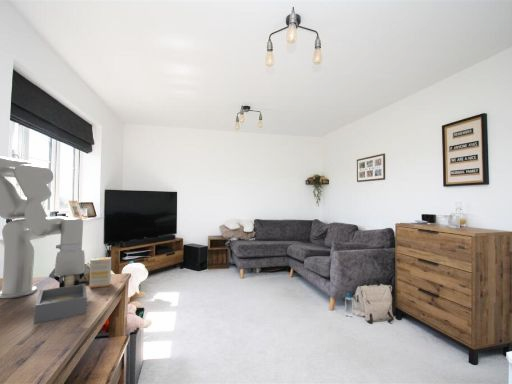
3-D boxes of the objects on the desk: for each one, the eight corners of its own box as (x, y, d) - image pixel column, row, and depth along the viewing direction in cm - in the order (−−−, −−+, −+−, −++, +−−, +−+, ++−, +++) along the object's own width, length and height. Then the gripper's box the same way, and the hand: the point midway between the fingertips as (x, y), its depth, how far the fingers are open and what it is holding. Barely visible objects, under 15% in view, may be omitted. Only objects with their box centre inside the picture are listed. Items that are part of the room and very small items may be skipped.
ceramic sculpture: (99, 259, 137) (90, 268, 122) (99, 275, 137) (90, 286, 123) (76, 260, 133) (64, 270, 119) (76, 276, 134) (64, 288, 120)
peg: (62, 295, 109) (64, 272, 109) (74, 294, 111) (75, 271, 111) (62, 299, 106) (63, 274, 106) (74, 297, 108) (75, 273, 108)
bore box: (39, 305, 99) (40, 290, 99) (84, 298, 107) (85, 284, 107) (33, 323, 86) (34, 305, 86) (85, 313, 94) (86, 297, 94)
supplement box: (110, 283, 126) (112, 256, 126) (108, 286, 121) (110, 259, 122) (91, 284, 123) (92, 257, 123) (88, 288, 118) (90, 259, 119)
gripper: (45, 250, 101) (42, 297, 100) (94, 247, 110) (92, 289, 110) (46, 247, 107) (44, 291, 107) (93, 244, 117) (91, 284, 116)
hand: (69, 289), depth 108 cm, fingers closed on peg, 4 cm apart
